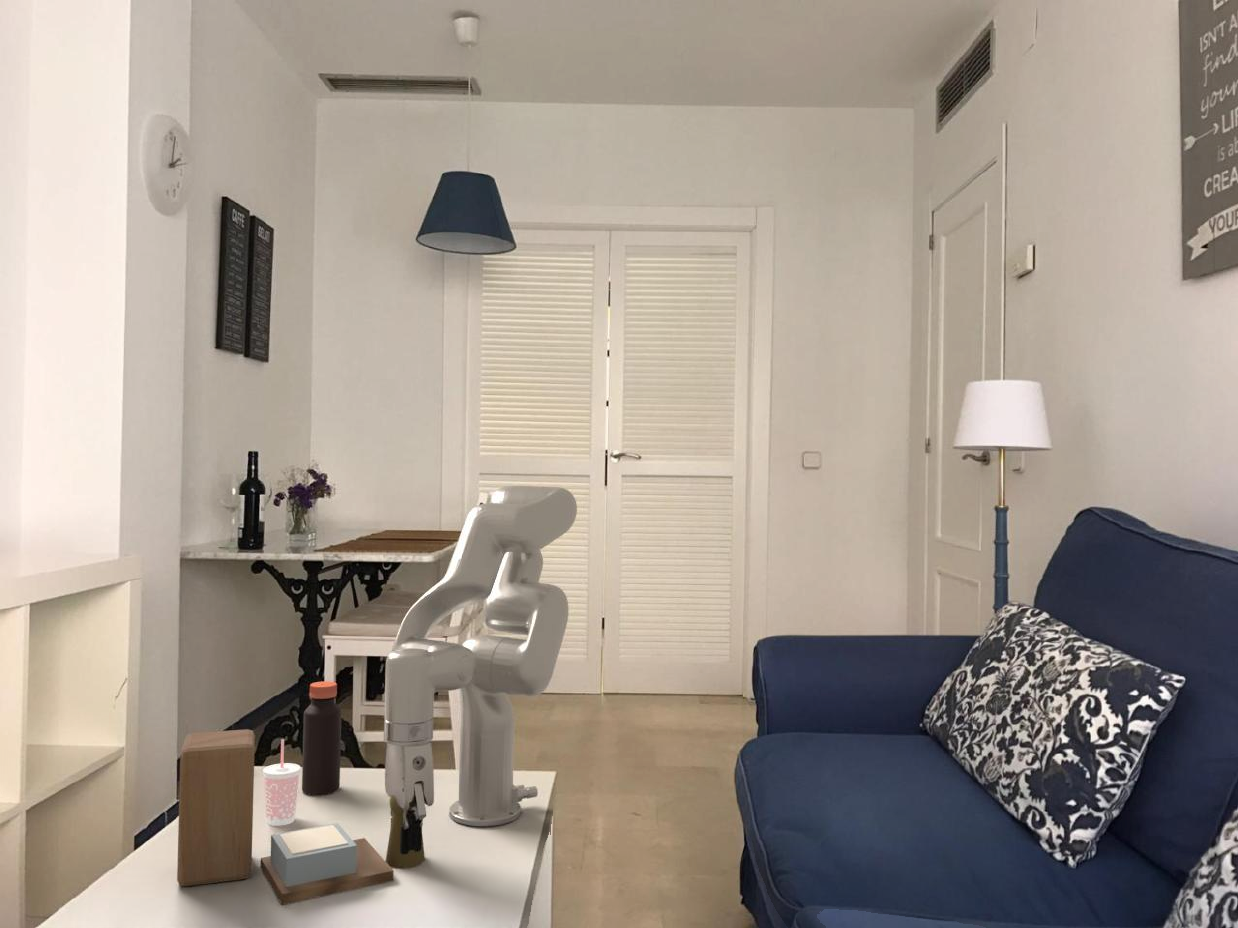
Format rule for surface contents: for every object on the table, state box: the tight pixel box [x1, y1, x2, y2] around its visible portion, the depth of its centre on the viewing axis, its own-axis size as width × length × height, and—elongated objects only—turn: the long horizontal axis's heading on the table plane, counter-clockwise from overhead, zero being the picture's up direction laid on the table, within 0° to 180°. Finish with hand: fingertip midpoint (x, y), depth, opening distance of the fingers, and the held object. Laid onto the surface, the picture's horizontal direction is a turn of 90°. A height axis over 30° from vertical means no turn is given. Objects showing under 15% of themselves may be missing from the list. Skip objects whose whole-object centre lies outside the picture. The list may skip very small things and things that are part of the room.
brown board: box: [259, 837, 394, 906], centre depth 142 cm, size 16×14×2 cm
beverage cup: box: [262, 738, 302, 827], centre depth 162 cm, size 6×6×14 cm
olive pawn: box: [385, 795, 426, 869], centre depth 147 cm, size 6×6×11 cm
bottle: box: [301, 680, 342, 797], centre depth 178 cm, size 7×7×20 cm
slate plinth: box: [270, 822, 357, 887], centre depth 141 cm, size 10×10×4 cm
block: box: [176, 728, 256, 887], centre depth 142 cm, size 10×10×20 cm
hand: (405, 845), depth 147 cm, fingers closed on olive pawn, 3 cm apart
